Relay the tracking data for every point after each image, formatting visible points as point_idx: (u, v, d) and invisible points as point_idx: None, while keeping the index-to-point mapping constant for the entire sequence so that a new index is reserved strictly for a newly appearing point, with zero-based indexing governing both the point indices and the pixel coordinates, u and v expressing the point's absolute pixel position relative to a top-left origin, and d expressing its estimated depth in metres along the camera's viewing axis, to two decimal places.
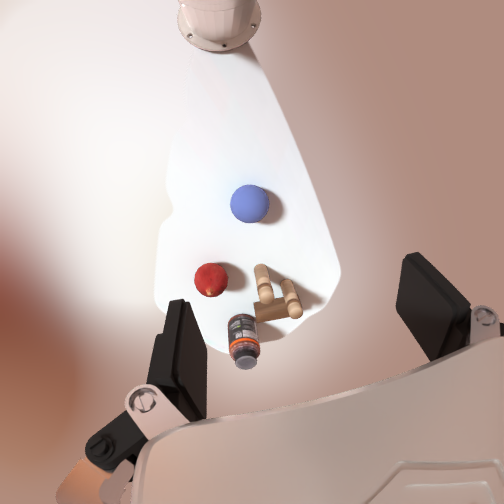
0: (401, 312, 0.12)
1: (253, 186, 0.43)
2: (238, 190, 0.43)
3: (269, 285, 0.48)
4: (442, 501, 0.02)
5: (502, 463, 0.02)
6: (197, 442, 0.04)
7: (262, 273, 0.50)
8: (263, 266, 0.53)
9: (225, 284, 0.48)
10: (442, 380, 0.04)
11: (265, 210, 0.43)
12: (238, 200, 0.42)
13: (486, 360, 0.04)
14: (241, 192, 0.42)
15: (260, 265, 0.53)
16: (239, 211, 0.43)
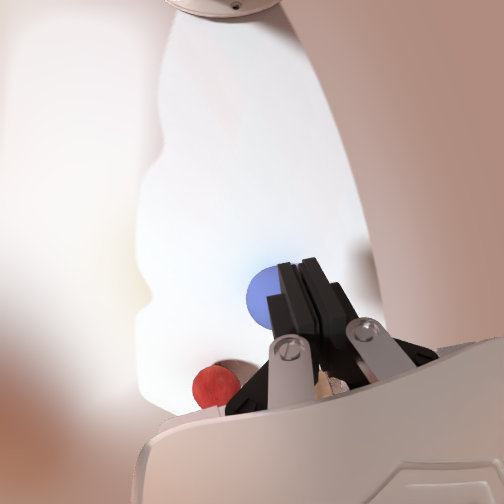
0: None
1: None
2: (261, 281, 0.25)
3: None
4: (442, 501, 0.02)
5: (502, 463, 0.02)
6: (197, 442, 0.04)
7: None
8: None
9: None
10: (442, 381, 0.04)
11: None
12: (261, 302, 0.24)
13: (486, 360, 0.04)
14: (267, 288, 0.24)
15: None
16: (263, 320, 0.24)
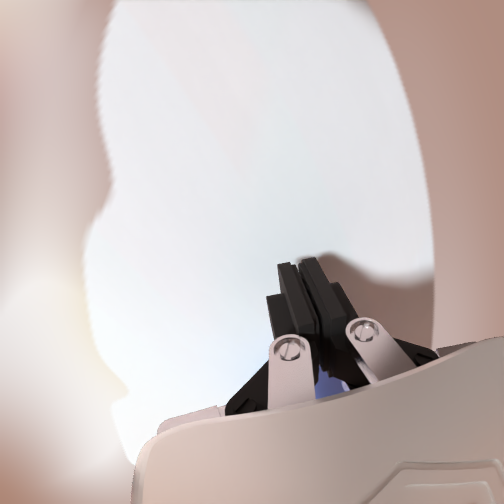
0: None
1: (326, 388, 0.14)
2: None
3: None
4: (442, 501, 0.02)
5: (502, 463, 0.02)
6: (198, 442, 0.04)
7: None
8: None
9: None
10: (442, 381, 0.04)
11: None
12: None
13: (486, 360, 0.04)
14: None
15: None
16: None
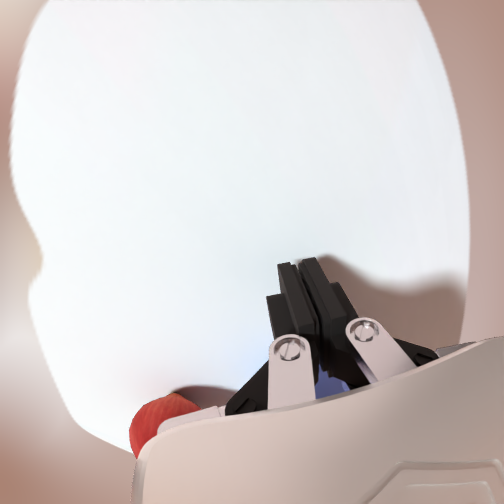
0: None
1: None
2: None
3: None
4: (442, 501, 0.02)
5: (502, 463, 0.02)
6: (197, 442, 0.04)
7: None
8: None
9: None
10: (442, 380, 0.04)
11: None
12: None
13: (486, 360, 0.04)
14: None
15: None
16: None
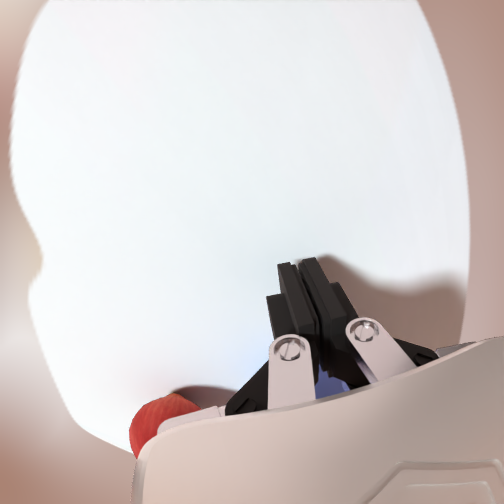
0: None
1: None
2: None
3: None
4: (442, 501, 0.02)
5: (502, 463, 0.02)
6: (197, 441, 0.04)
7: None
8: None
9: None
10: (442, 380, 0.04)
11: None
12: None
13: (486, 360, 0.04)
14: None
15: None
16: None
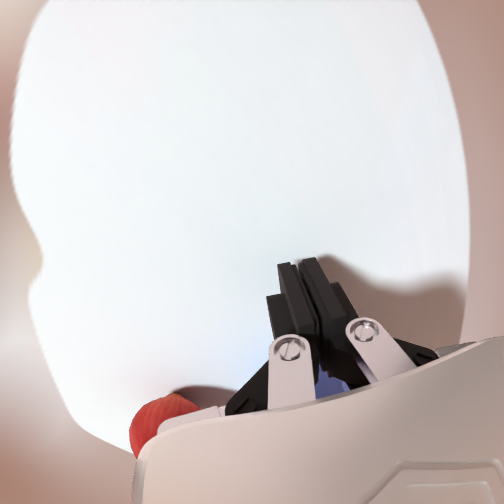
0: None
1: None
2: None
3: None
4: (442, 501, 0.02)
5: (502, 463, 0.02)
6: (197, 441, 0.04)
7: None
8: None
9: None
10: (442, 381, 0.04)
11: None
12: None
13: (486, 360, 0.04)
14: None
15: None
16: None
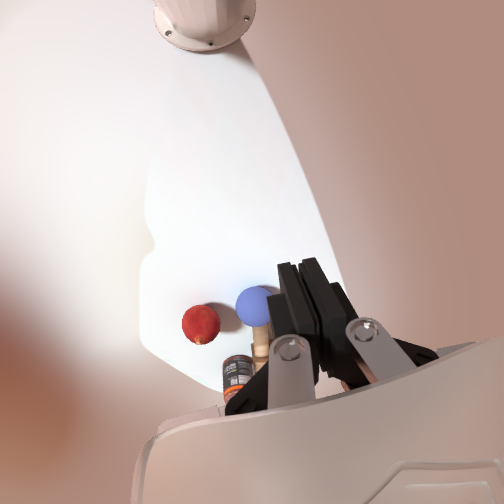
0: None
1: None
2: None
3: (267, 359, 0.44)
4: (442, 501, 0.02)
5: (502, 463, 0.02)
6: (198, 442, 0.04)
7: (261, 339, 0.44)
8: None
9: (216, 330, 0.41)
10: (442, 381, 0.04)
11: None
12: None
13: (486, 360, 0.04)
14: None
15: None
16: None
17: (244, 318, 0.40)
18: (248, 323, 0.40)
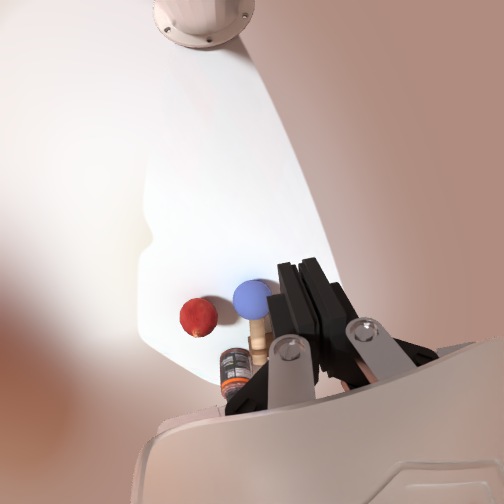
0: None
1: None
2: None
3: (263, 352, 0.45)
4: (442, 501, 0.02)
5: (502, 463, 0.02)
6: (197, 442, 0.04)
7: (257, 332, 0.45)
8: None
9: (214, 323, 0.41)
10: (442, 381, 0.04)
11: None
12: None
13: (486, 360, 0.04)
14: None
15: None
16: None
17: (241, 311, 0.41)
18: (245, 316, 0.41)
